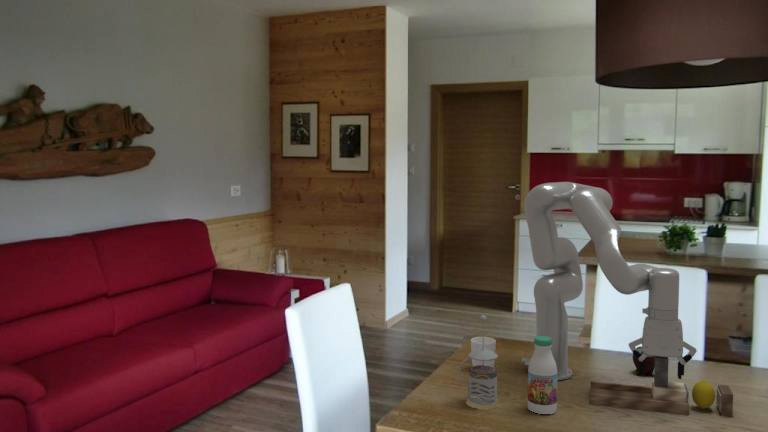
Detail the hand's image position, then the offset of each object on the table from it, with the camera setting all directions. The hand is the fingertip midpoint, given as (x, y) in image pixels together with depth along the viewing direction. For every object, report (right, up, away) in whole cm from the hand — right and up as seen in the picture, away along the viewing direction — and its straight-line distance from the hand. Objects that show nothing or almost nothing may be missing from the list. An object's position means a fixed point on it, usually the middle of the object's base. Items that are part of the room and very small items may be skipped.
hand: (661, 375), depth 177 cm
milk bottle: (-33, -9, -2) cm, 34 cm away
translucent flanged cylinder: (-44, -6, +30) cm, 54 cm away
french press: (-49, -9, +4) cm, 50 cm away
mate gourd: (+6, -6, +26) cm, 27 cm away
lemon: (+10, -9, -3) cm, 13 cm away
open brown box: (+15, -8, -4) cm, 18 cm away
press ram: (+2, -7, 0) cm, 7 cm away
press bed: (-6, -8, +3) cm, 10 cm away
